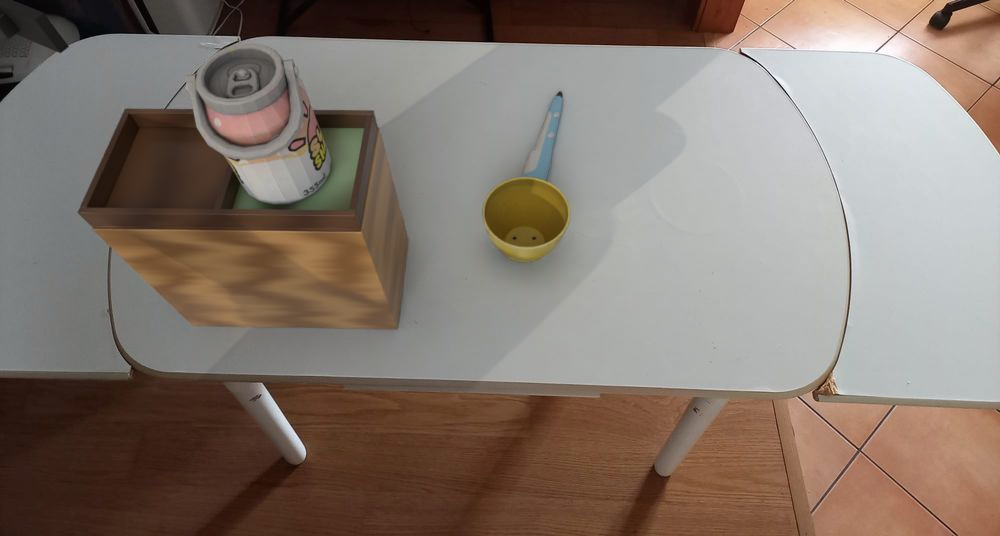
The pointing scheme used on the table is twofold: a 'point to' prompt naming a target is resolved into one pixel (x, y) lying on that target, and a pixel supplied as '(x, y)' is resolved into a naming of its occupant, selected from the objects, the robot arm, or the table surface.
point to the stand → (281, 268)
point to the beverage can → (260, 122)
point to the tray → (220, 178)
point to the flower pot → (526, 217)
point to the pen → (544, 143)
